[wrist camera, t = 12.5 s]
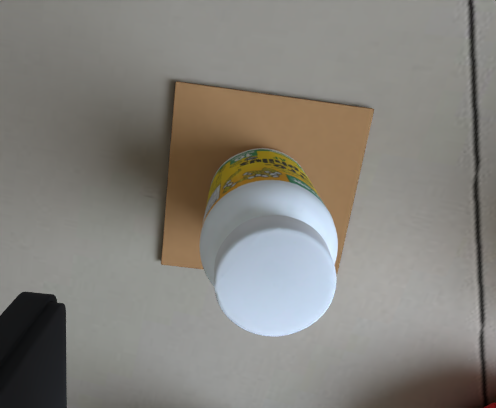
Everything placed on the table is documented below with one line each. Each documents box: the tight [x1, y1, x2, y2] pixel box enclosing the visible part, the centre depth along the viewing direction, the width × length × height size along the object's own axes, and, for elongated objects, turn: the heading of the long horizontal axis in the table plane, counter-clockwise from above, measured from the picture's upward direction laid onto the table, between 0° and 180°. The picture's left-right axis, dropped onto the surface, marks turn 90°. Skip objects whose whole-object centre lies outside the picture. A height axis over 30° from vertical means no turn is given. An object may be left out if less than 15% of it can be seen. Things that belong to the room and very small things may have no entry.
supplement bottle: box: [200, 148, 338, 336], centre depth 18 cm, size 5×5×10 cm
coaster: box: [161, 81, 374, 277], centre depth 23 cm, size 10×10×1 cm
